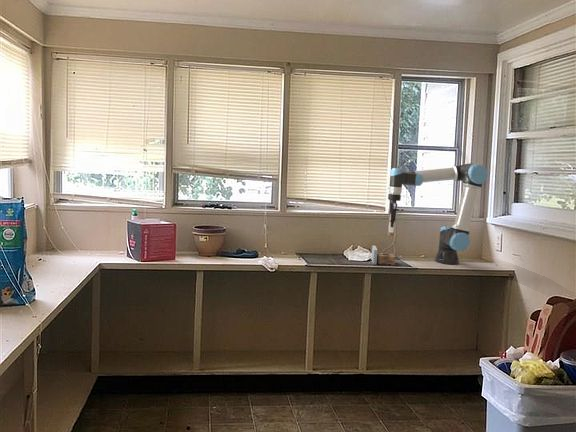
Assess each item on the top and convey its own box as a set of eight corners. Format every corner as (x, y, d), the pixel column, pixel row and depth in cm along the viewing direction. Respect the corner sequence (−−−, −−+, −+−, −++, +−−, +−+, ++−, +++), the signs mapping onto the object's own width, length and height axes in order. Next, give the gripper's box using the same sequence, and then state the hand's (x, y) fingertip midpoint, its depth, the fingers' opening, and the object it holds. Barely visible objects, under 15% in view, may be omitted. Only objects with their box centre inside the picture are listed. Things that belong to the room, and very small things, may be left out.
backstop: (374, 259, 380) (375, 245, 379) (376, 264, 364) (377, 250, 363) (370, 259, 380) (372, 245, 379) (373, 264, 364) (374, 249, 363)
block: (392, 261, 376) (393, 253, 376) (394, 264, 366) (395, 256, 366) (376, 260, 377) (377, 252, 376) (378, 263, 367) (378, 255, 366)
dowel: (392, 235, 372) (394, 214, 371) (393, 235, 369) (395, 214, 367) (387, 234, 372) (389, 213, 371) (388, 235, 369) (390, 214, 367)
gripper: (387, 192, 376) (383, 229, 379) (389, 194, 360) (385, 233, 362) (399, 193, 375) (395, 230, 378) (402, 195, 359) (398, 234, 362)
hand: (390, 231), depth 370 cm, fingers closed on dowel, 3 cm apart
